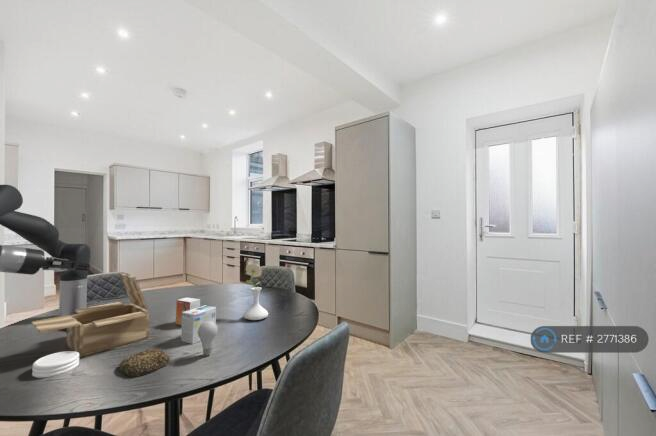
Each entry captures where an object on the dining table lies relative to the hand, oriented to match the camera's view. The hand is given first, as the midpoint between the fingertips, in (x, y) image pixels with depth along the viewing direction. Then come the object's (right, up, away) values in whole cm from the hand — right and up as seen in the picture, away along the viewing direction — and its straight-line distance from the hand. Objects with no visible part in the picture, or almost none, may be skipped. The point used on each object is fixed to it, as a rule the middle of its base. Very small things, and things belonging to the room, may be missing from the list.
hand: (82, 267), depth 97 cm
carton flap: (+9, -17, +15) cm, 25 cm away
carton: (+1, -28, +3) cm, 28 cm away
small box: (+23, -29, +26) cm, 45 cm away
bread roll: (+28, -28, -10) cm, 41 cm away
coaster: (+4, -28, -13) cm, 31 cm away
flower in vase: (+49, -30, +35) cm, 67 cm away
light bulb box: (+34, -29, +11) cm, 46 cm away
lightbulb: (+44, -29, -3) cm, 52 cm away
